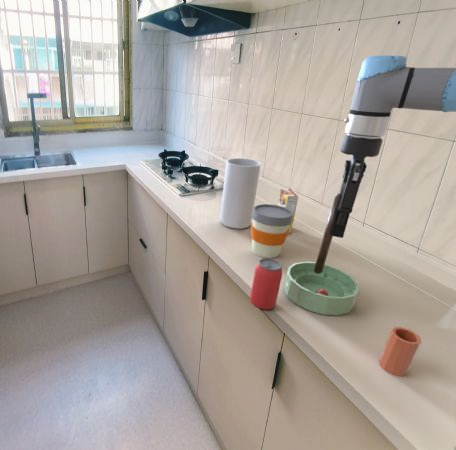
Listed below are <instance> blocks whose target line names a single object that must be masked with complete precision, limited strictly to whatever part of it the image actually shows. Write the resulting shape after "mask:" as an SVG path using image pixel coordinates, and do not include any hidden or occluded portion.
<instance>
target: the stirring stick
mask: <svg viewBox="0 0 456 450" xmlns="http://www.w3.org/2000/svg"><path fill="white" fill-rule="evenodd" d="M341 196H342V193H340V192H337V193H336V194H335V196H334V198H333V202H332V205H331V209H330V212H329V215H328V219H327V223H326V226H325V230H324V233H323V236H322V239H321V243H320V247H319V250H318V254H317V257H316V259H315V260H316V261H315V262H316V264H315V267H314V272H315V273H317V274H320V273H322V271H323V267H324V264H326V261H327V258H328V254H329V251H330V247H331V243H332V240H333V238H334V236H330V234H331V230H332V227H333V223H334V219H335V215H336V211H334V209H335V208H338V207H339V204H340V200H341Z"/></svg>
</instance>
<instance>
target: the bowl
mask: <svg viewBox="0 0 456 450" xmlns="http://www.w3.org/2000/svg"><path fill="white" fill-rule="evenodd" d="M315 264H316V261H300V262H294V263H293V264H291V265H289V266H288V267H287V272H286V276H285V280H284V281H285V282H284V285H283V291H284V293H285V295H286V296H287V298H288V299H289V300H290V301H292V302H293V303H294V304H296V305H297V306H299V307H301V308H303V309H305V310H307V311H310V312H313V313H316V314H320V315H323V316H335V317H336V316H337V317H338V316H342V315H346V314H349V313H350V312H351V311H352V310H353V309H354V308H355V305H356V302H357V299H358V296H359V294H360V286H359V283H358V282H357V281H356V279H355V278H354V277H353V276H352V275H350V274H348V273H347V272H346V271H343V270H342V269H340V268H337V267H335V266H332V265H330V264H327V263H325V264H324V267H323V271H322V273H320V274H317V273H315V272H314V267H315ZM318 289H324V290H326V291H327V292H328V294H329V296H326V295H322V294H318V293H316V291H317V290H318Z"/></svg>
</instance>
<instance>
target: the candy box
mask: <svg viewBox="0 0 456 450" xmlns="http://www.w3.org/2000/svg"><path fill="white" fill-rule="evenodd" d="M298 200H299V196H298V195H297V194H296V193H295V192H294V191H293V190H292V188H280V191H279V197H278V203H277V206H281V207H284V208H287V209H289V210H290V211H291V212H292V222H291V224H290V225H289V232H288V234H292V230H293V225H294V220H295V214H296V210H297V205H298Z"/></svg>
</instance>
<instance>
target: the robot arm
mask: <svg viewBox="0 0 456 450" xmlns="http://www.w3.org/2000/svg"><path fill="white" fill-rule="evenodd" d="M393 109H407V110H408V109H409V110H417V111H431V112H432V111H435V112H443V113H450V112H453V113H456V67H414V66H413V67H410V66H407V57H406V56H404V55H371V56H367V57H366V58H364V60H363V61H362V62H361V67H360V70H359V74H358V77H357V79H356V83H355V87H354V90H353V95H352V100H351V104H350V109H349V114H348V117H347V118H346V117H345V118H344V120H343V122H344V123H346V125H345V129H344V132H345V133H346V134H344V135H343V137H342V140H341V144H340V148H339V151H340V152H341V153H342V154H343V155H347V156H348V155H349V159H346V160H345V162H344V166H343V167H344V171H343V173H342V182H341V186H340V190H339V193H342V196H341V200H340V204H339V207H338V208H335V209H334V211H336V215H335V219H334V223H333V227H332V230H331V234H330V236H333V237H335V238H341V239H343V238H344V236H345V232H346V228H347V225H348V221H349V219H350V214H352V212H353V208H354V205H355V202H356V199H357V195H358V192H359V189H360V185H361V183H362V180H363V177H364V175H365V174H364V173H365V172H366V169H367V165H368V164H367V163H366V161H365V160H366V159H365V158H375V157H378V156H379V154H380V151H381V148H382V145H383V142H384V141H383V138H382V137H384V136H385V135H386V132H387V128H388V125H389V122H390V119H391V114H392V110H393Z"/></svg>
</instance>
